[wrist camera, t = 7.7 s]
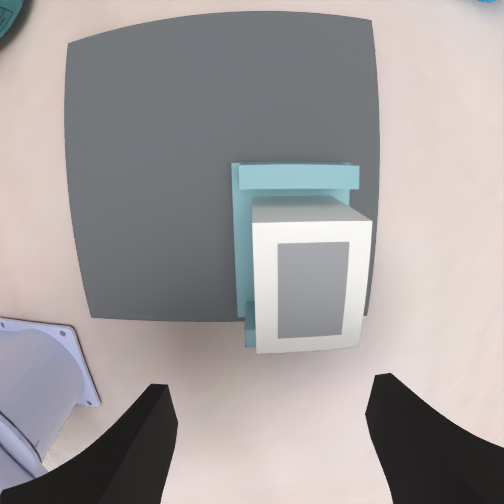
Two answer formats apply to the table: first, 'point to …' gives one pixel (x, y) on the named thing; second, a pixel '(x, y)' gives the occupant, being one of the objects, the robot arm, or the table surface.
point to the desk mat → (204, 145)
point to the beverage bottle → (8, 13)
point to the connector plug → (309, 273)
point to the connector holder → (276, 184)
